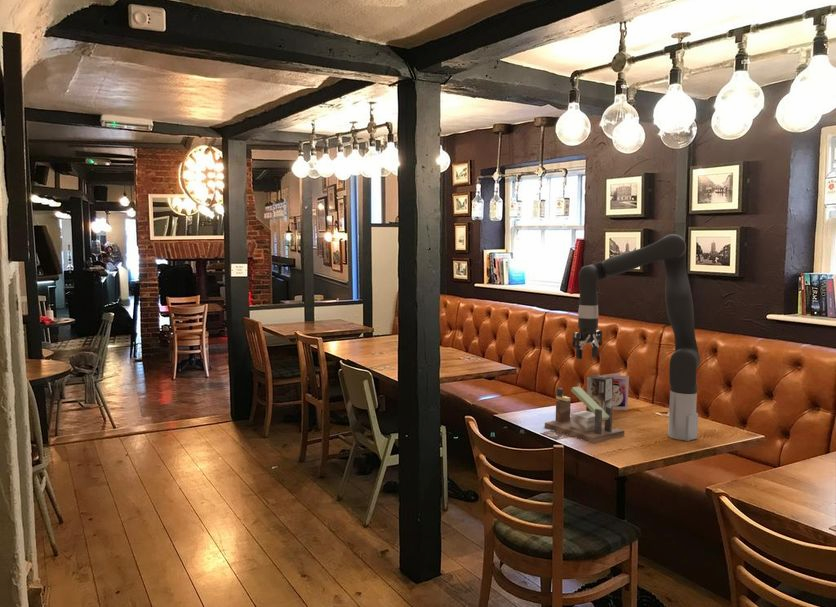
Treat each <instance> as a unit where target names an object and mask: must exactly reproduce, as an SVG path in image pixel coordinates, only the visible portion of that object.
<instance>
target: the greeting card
mask: <svg viewBox="0 0 836 607" xmlns="http://www.w3.org/2000/svg"><path fill="white" fill-rule="evenodd" d="M601 376H607V377H613V406H612V411H628V409H629V408H628V407H629V388H630V387H629V386H630V384H629V383H630V376H629V375H621V372H617V373H616V372H615V373H609V374H608V373H607V374H602V375H601Z"/></svg>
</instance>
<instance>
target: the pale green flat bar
mask: <svg viewBox="0 0 836 607" xmlns="http://www.w3.org/2000/svg"><path fill="white" fill-rule="evenodd" d="M570 391H571V392H572V393H573V394H574V395H575V397H577V399H578V400H580V402H582V403H583V405H584V406H587V407H588V408H589V409H590V410H591V411H592V412H593V413H594V414H595V409H601V410H602V422H603V421H605V420H607V419H609V417H610V416H609V415H608V414H607V413H606V412H605V411H604V410H603V409H602V408H601V407H600V406H599V405H598V404H597V403H596V402H595V401H594V400H593V399H592V398H591V397H590V396H589V395H588V394H587V391H585V390H584V389H583V388H582V387H581V386H572V388H571V389H570Z"/></svg>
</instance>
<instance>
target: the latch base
mask: <svg viewBox="0 0 836 607" xmlns="http://www.w3.org/2000/svg"><path fill="white" fill-rule="evenodd" d="M571 407H572V406H571V400H570V401H562V400H559V399H557V400H555V420H550V421H547V422H544V429H547V430H551V431H553V430H554V431H553V432H556V431H558V432H557V433H559V432H561V433H560V434H563V433H565V434H564V435H566V434H568V435H567V436H569V435H571V436H570V437H572V436H574V437H573V438H575V437H577V438H576V439H578V438H579V440H581V439H582V440H583V441H585V442H588V443H591V444H598V443H601V442H606V441H610V440H613V439H617V438H621V437H624V436H625V430H624V429H620V428H616V427H613V410H612V407H608V406H607V407H605V412H606V413H607V414H608V415H609V416H610V417H609V419H607V420H604V424H603V421H602V410H601V409H595V414H594V413H592V412H589V411H586V410H581V411H576V412H573V413H571Z"/></svg>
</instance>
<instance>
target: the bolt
mask: <svg viewBox="0 0 836 607" xmlns="http://www.w3.org/2000/svg"><path fill="white" fill-rule="evenodd" d="M555 399H556V400H562V401H571V397H569V396H566V395H564V388H563V387H557V388H556V396H555Z"/></svg>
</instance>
